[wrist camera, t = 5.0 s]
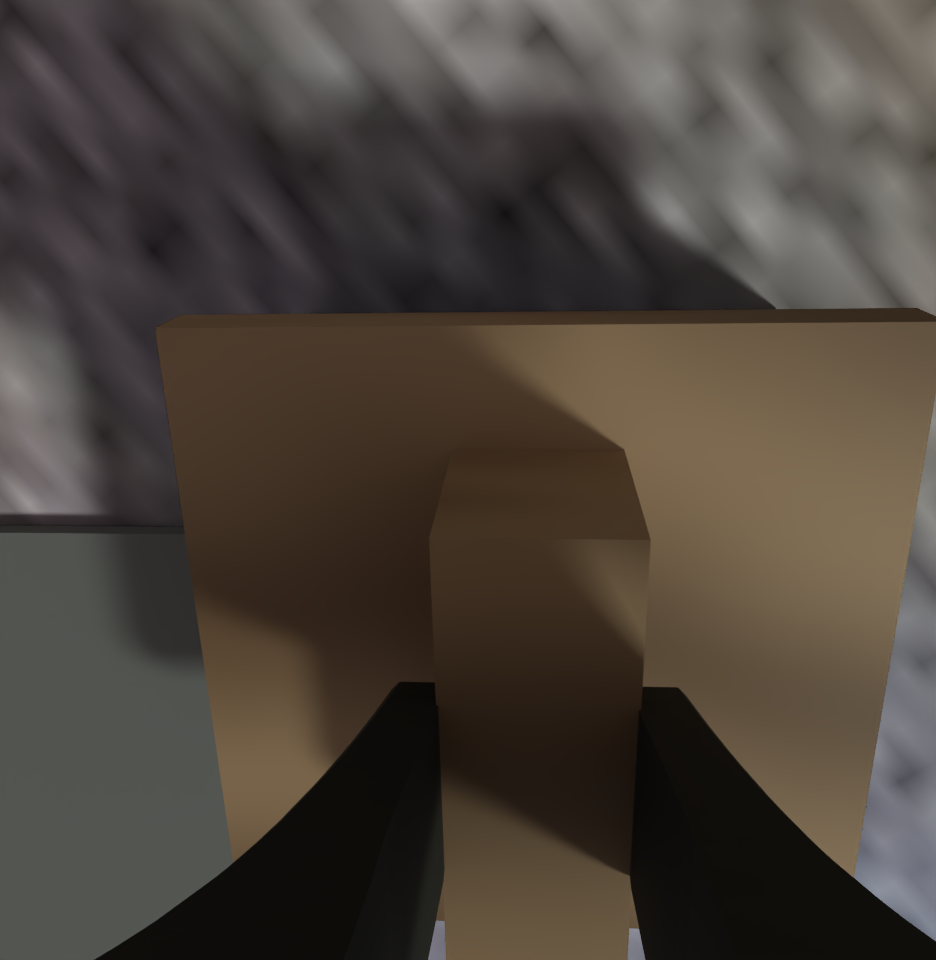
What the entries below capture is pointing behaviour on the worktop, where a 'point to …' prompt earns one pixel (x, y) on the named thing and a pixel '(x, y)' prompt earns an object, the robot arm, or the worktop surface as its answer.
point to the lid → (549, 568)
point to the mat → (101, 739)
